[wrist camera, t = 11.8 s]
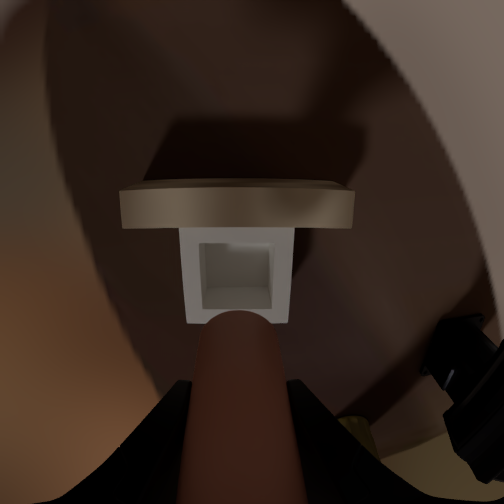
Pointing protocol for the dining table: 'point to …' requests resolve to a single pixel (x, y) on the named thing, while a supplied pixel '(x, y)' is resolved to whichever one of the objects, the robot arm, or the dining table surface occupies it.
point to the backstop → (237, 203)
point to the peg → (240, 419)
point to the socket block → (236, 271)
